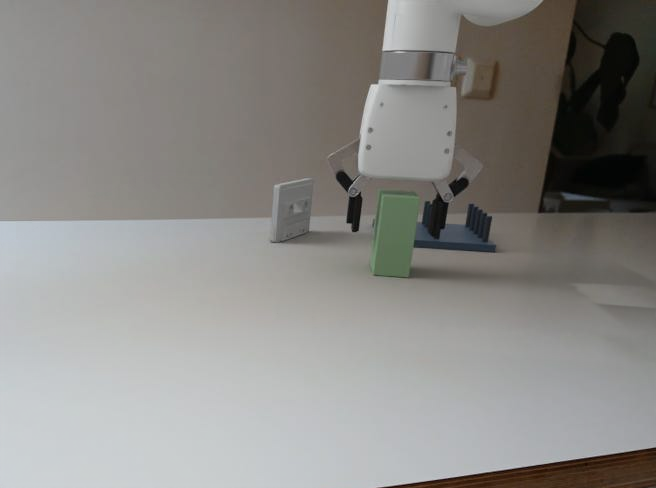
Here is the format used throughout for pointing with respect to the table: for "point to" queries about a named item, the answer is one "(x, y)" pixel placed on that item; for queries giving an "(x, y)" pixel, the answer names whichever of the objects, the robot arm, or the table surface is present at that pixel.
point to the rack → (457, 232)
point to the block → (394, 232)
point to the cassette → (291, 209)
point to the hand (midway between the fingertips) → (393, 232)
